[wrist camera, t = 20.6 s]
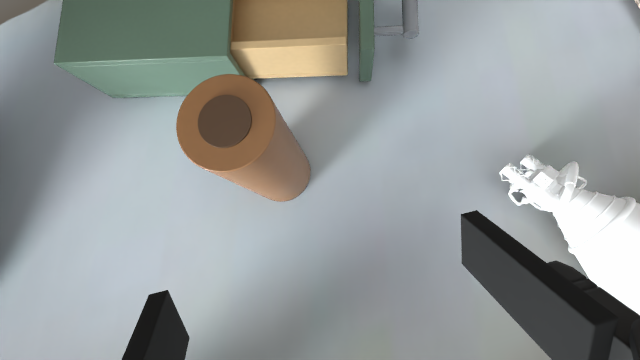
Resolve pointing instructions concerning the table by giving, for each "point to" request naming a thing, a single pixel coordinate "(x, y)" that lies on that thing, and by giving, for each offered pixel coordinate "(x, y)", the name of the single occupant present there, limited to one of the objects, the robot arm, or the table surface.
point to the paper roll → (242, 137)
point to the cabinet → (145, 44)
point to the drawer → (307, 37)
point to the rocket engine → (587, 224)
